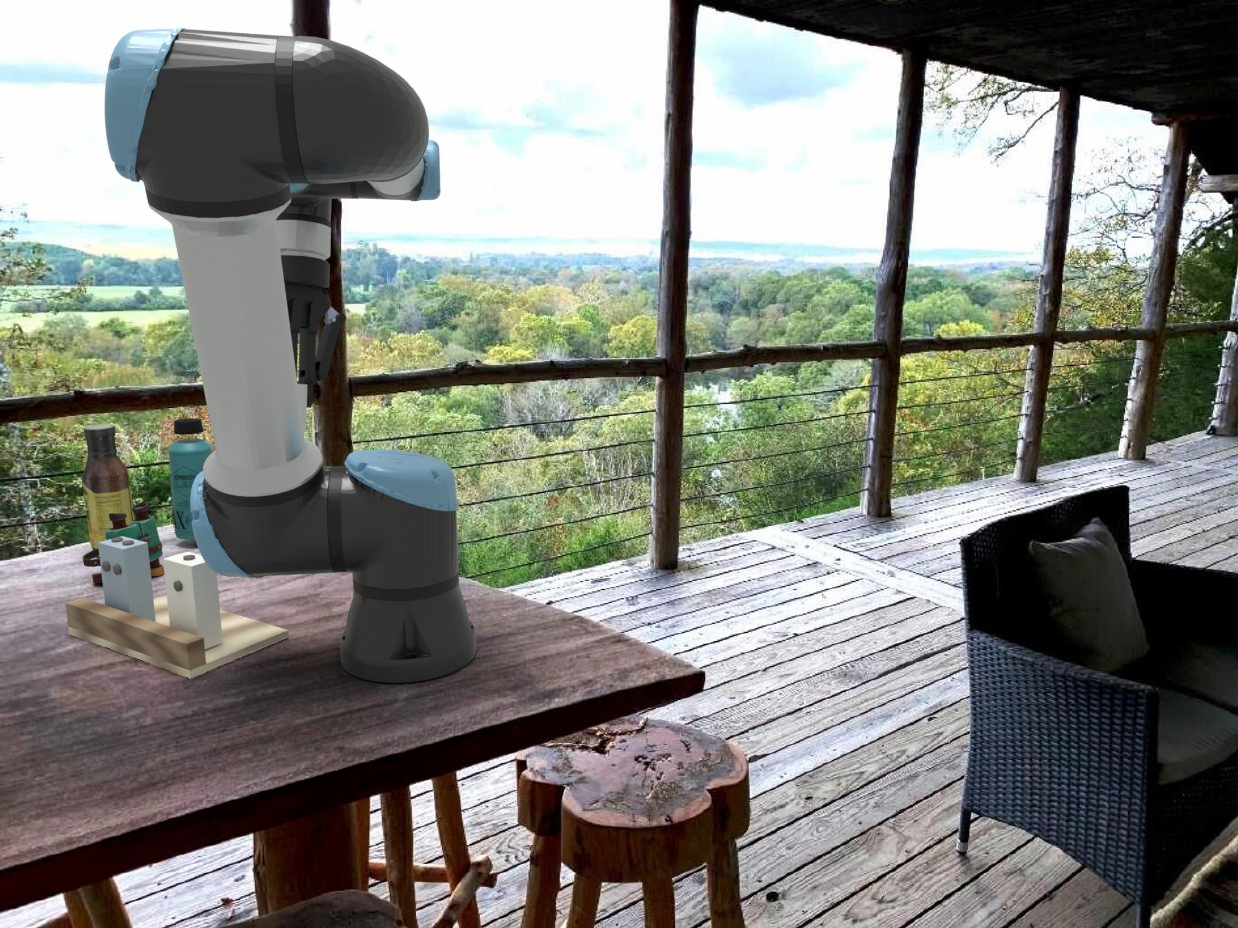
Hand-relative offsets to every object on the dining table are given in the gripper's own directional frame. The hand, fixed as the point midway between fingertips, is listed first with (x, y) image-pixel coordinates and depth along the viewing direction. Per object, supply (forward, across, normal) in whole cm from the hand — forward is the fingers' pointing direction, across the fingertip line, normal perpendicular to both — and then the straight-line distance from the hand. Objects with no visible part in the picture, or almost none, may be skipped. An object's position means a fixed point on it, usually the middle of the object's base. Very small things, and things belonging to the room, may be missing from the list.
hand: (296, 431), depth 125 cm
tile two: (+23, +21, +2) cm, 32 cm away
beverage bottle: (+19, +2, -29) cm, 35 cm away
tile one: (+24, +18, +13) cm, 33 cm away
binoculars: (+22, +16, -19) cm, 33 cm away
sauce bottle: (+20, +13, -32) cm, 40 cm away
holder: (+25, +17, +7) cm, 31 cm away
